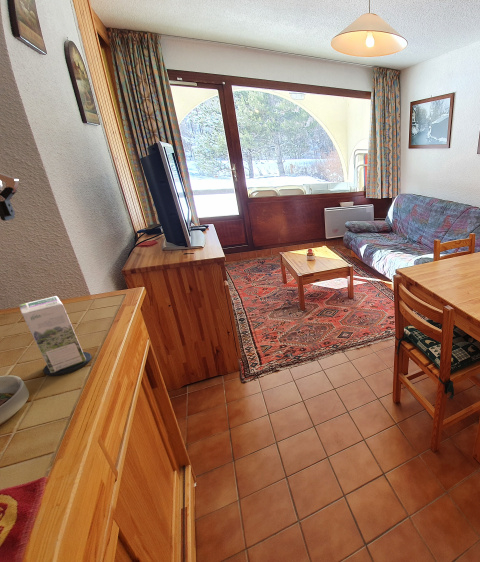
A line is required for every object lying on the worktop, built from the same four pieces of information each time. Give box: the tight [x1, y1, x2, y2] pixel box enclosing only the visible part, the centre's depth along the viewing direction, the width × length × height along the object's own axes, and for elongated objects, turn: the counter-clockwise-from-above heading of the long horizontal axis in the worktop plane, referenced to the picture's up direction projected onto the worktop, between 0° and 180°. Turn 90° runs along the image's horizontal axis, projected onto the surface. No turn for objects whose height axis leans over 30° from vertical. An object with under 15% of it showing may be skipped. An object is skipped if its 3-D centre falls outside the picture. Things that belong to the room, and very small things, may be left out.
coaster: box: [42, 351, 92, 377], centre depth 67 cm, size 8×8×1 cm
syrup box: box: [18, 295, 86, 373], centre depth 64 cm, size 6×6×14 cm
